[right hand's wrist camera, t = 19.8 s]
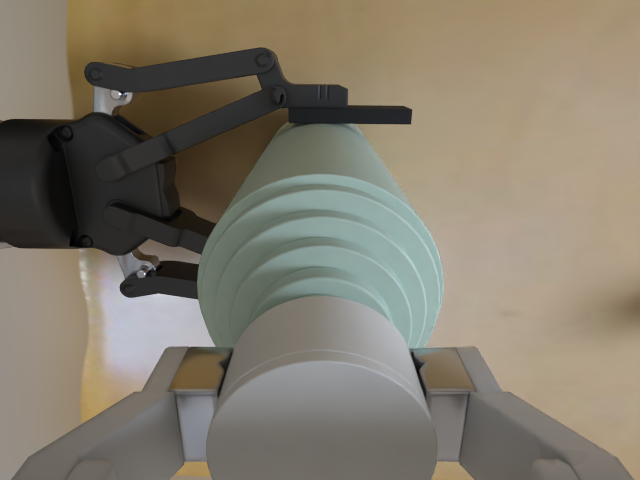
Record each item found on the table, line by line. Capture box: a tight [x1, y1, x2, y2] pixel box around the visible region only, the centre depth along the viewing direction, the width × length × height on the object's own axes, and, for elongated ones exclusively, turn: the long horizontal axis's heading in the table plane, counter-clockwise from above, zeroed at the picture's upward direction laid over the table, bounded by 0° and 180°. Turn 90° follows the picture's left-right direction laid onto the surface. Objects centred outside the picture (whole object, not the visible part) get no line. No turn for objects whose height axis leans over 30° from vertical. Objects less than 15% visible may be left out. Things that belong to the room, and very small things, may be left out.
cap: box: [206, 296, 438, 480], centre depth 9 cm, size 4×4×2 cm
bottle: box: [197, 121, 443, 350], centre depth 20 cm, size 8×8×25 cm
